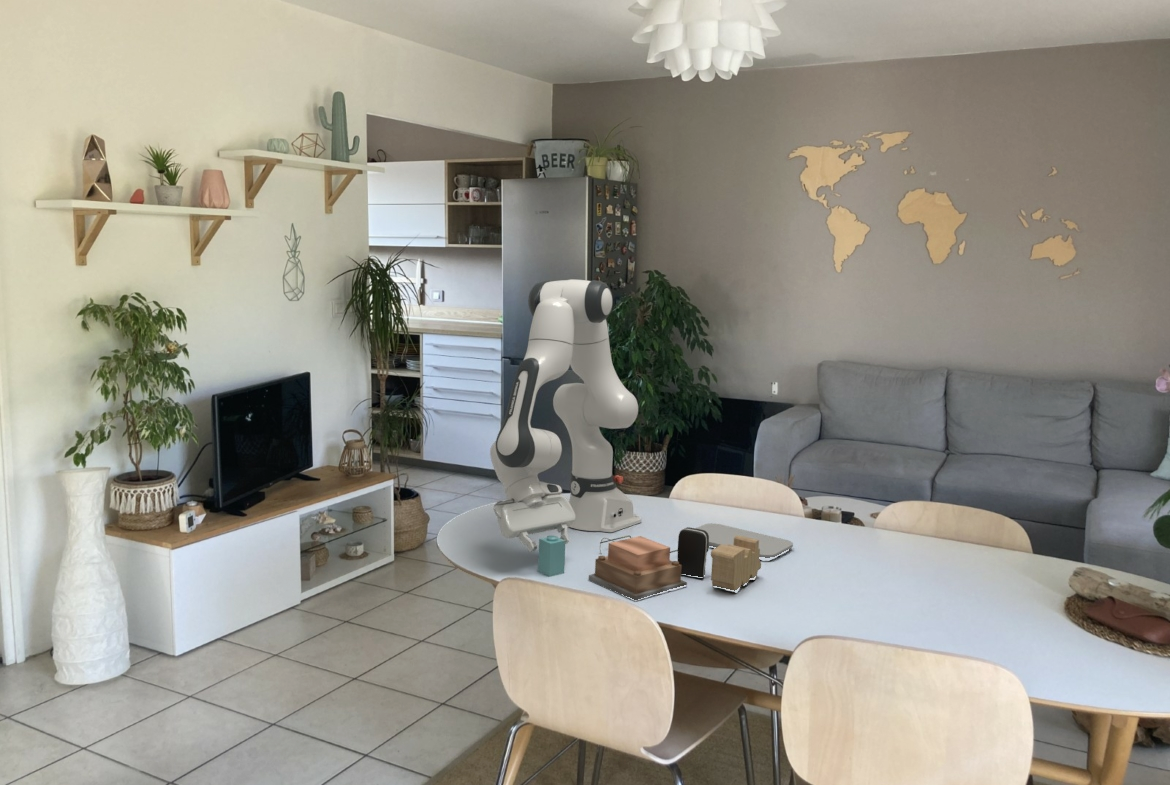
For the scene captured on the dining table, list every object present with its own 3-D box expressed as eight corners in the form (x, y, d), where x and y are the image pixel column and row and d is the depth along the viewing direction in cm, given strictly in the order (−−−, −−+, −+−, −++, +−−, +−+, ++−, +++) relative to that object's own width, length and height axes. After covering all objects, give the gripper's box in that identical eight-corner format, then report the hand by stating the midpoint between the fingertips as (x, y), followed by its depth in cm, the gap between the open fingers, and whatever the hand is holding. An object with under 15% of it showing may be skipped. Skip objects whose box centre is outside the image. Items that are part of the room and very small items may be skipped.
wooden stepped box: (638, 567, 228) (640, 530, 227) (686, 587, 216) (688, 548, 214) (588, 580, 218) (590, 541, 216) (635, 601, 206) (637, 561, 204)
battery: (708, 575, 224) (711, 529, 223) (703, 580, 221) (706, 533, 219) (680, 570, 227) (683, 524, 226) (675, 574, 224) (678, 528, 222)
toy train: (760, 577, 225) (763, 537, 223) (730, 597, 211) (733, 555, 209) (738, 572, 228) (741, 532, 226) (708, 592, 214) (711, 549, 212)
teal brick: (552, 567, 225) (554, 533, 224) (564, 573, 222) (565, 538, 220) (538, 571, 222) (539, 536, 221) (549, 576, 219) (550, 541, 218)
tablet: (709, 529, 263) (710, 522, 263) (796, 550, 248) (797, 542, 247) (679, 542, 250) (680, 534, 250) (769, 565, 235) (769, 556, 234)
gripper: (496, 495, 219) (519, 547, 213) (565, 484, 232) (589, 533, 226) (485, 509, 223) (507, 560, 217) (553, 498, 236) (576, 546, 230)
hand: (549, 546), depth 221 cm, fingers open, 8 cm apart
